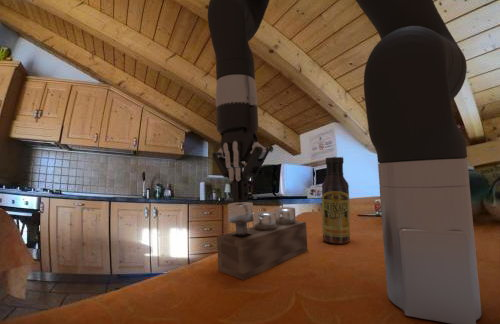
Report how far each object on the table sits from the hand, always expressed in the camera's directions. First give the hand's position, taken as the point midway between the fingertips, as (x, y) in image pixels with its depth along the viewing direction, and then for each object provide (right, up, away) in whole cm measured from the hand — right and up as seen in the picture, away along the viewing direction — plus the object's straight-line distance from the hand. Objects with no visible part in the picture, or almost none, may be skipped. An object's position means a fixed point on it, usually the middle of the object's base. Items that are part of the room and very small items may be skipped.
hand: (240, 202), depth 45 cm
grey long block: (+5, -12, +4) cm, 13 cm away
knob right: (+9, -10, +9) cm, 16 cm away
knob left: (0, -7, -1) cm, 7 cm away
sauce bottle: (+22, -12, +14) cm, 29 cm away
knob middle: (+5, -10, +4) cm, 12 cm away
